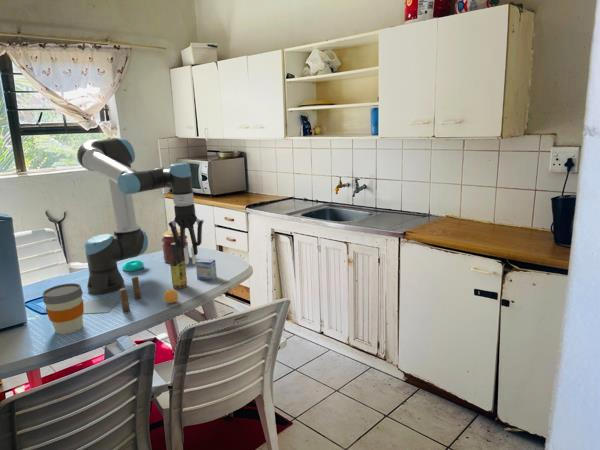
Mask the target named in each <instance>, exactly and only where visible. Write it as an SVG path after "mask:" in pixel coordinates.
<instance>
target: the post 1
mask: <svg viewBox="0 0 600 450" xmlns="http://www.w3.org/2000/svg"><path fill="white" fill-rule="evenodd" d="M119 296H120V297H119V298H121V300H120V303H121V309H122V313H125V312H126V313H129V312H131V309H130V307H131V306H130V302H129V295H128V290H127V288H125V287H124V288H123V287H122V288H120V289H119ZM126 313H125V314H126Z"/></svg>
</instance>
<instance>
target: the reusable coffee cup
mask: <svg viewBox="0 0 600 450" xmlns="http://www.w3.org/2000/svg"><path fill="white" fill-rule="evenodd" d="M42 301H43V303H44V304H45V306H46V307H45V311H46V314H47V316H48V319H49V322H51V323H52V325H53V329H54V332H55V334H57V333H59V334H58V335H67V334H66V333H69V334H72V333H71V332H73V333H75V332H77V331H76V330H78V329H79V330H81V329H82V328H83V327H82V326H84V321H83V318H84V314H83V313H84V306H83V304H84V299H83V290H82V286H81V284H79V283H62V284H59V285H55V286H52V287H48V288H47V289H46V290H44V291H43V292H42ZM81 327H82V328H81ZM80 328H81V329H80ZM79 330H78V331H79ZM74 331H75V332H74Z"/></svg>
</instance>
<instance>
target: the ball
mask: <svg viewBox="0 0 600 450" xmlns="http://www.w3.org/2000/svg"><path fill="white" fill-rule="evenodd" d="M163 299H164V301H165V302H166V303H167V304H174V303H176V302H177V300H178V299H179V294H178V292H177V291H176V289H174V288H173V289H172V288H171V289H168V290H166V291H165V292H164V294H163Z"/></svg>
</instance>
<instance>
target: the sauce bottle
mask: <svg viewBox="0 0 600 450" xmlns="http://www.w3.org/2000/svg"><path fill="white" fill-rule="evenodd" d="M171 248H172V256H171V258H170V263H169V265H170V274H171V284H172V287H173V289H174V290H180V289H184V288H186V287H187V286H188V284H187V283H188V280H187V279H188V278H187V269H186V268H187V267H186V264H185V260H184V258H183V256H182V253H181V248H180V247H177V246H176V245H175V243H171Z"/></svg>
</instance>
